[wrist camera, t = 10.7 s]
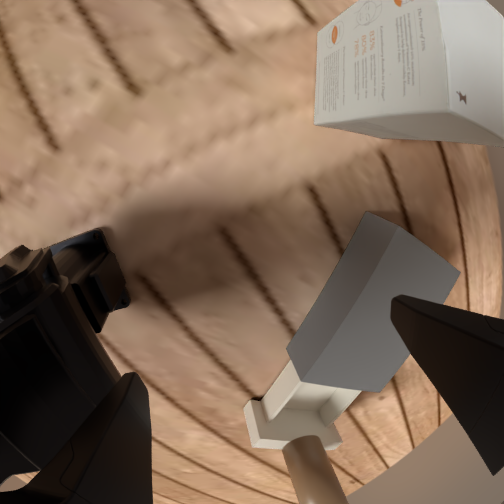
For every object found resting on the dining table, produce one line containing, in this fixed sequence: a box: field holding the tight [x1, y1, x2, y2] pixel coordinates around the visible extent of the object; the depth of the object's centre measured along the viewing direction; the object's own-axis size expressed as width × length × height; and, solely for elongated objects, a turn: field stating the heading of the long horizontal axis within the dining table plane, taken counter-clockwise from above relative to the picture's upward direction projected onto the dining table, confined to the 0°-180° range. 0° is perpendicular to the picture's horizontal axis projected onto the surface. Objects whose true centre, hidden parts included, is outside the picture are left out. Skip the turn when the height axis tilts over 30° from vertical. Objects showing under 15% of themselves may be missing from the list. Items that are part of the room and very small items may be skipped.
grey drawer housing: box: [286, 211, 461, 393], centre depth 23 cm, size 14×10×4 cm
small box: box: [314, 0, 504, 148], centre depth 12 cm, size 8×6×13 cm
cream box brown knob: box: [243, 359, 361, 504], centre depth 21 cm, size 16×10×14 cm, turn 154°
